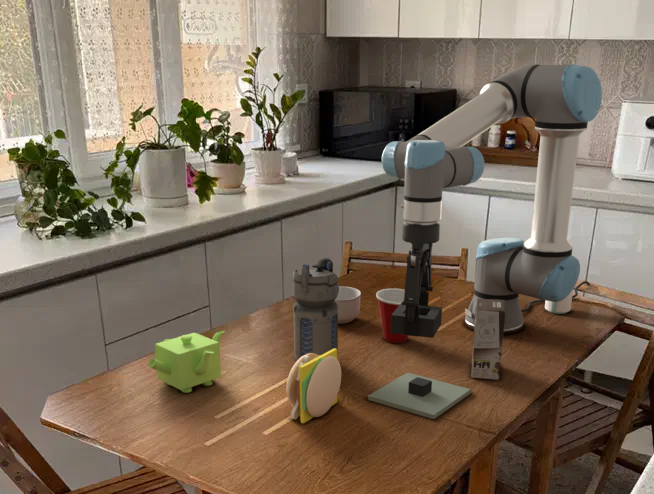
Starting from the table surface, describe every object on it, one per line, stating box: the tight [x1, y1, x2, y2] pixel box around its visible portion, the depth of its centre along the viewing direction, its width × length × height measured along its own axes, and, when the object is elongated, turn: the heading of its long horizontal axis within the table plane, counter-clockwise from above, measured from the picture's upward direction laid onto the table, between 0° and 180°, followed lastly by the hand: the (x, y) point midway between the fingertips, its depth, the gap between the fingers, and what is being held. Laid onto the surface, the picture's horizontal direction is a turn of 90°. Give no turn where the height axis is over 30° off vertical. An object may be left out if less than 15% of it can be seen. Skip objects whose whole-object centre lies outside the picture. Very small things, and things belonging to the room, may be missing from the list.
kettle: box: [148, 330, 226, 394], centre depth 171 cm, size 15×14×11 cm
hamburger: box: [285, 348, 342, 424], centre depth 158 cm, size 12×8×12 cm
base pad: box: [367, 372, 472, 420], centre depth 166 cm, size 16×16×4 cm
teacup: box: [335, 286, 362, 325], centre depth 213 cm, size 14×11×8 cm
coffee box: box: [470, 299, 506, 381], centre depth 176 cm, size 9×6×16 cm
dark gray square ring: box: [391, 303, 443, 339], centre depth 165 cm, size 9×9×4 cm
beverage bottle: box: [292, 257, 340, 363], centre depth 179 cm, size 10×13×25 cm
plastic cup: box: [375, 288, 413, 344], centre depth 197 cm, size 11×11×12 cm
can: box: [544, 289, 574, 315], centre depth 218 cm, size 7×7×12 cm
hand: (416, 327), depth 165 cm, fingers closed on dark gray square ring, 9 cm apart
